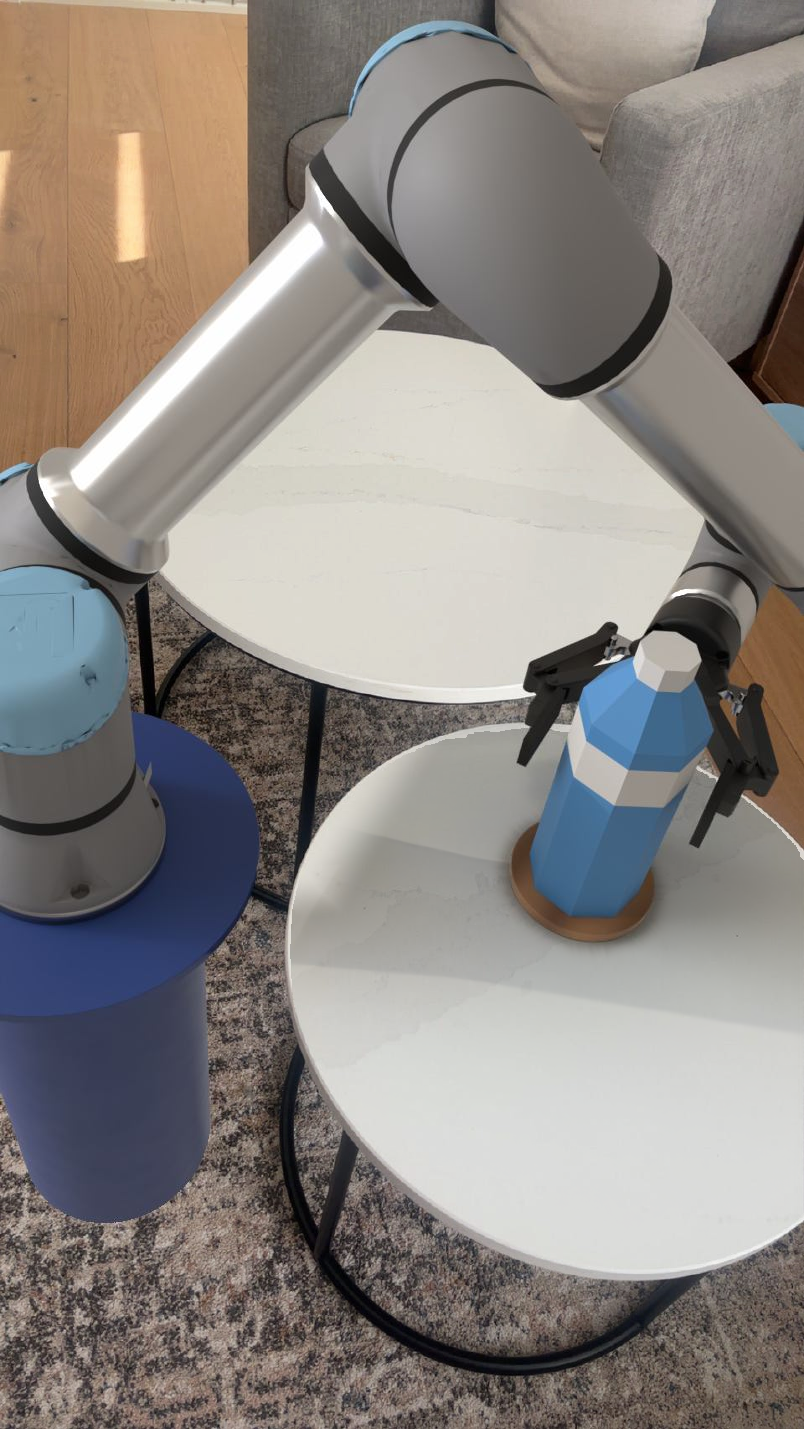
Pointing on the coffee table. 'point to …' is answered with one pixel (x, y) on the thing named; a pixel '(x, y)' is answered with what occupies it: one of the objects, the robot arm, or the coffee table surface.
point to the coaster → (559, 920)
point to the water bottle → (621, 778)
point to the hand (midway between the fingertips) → (609, 793)
